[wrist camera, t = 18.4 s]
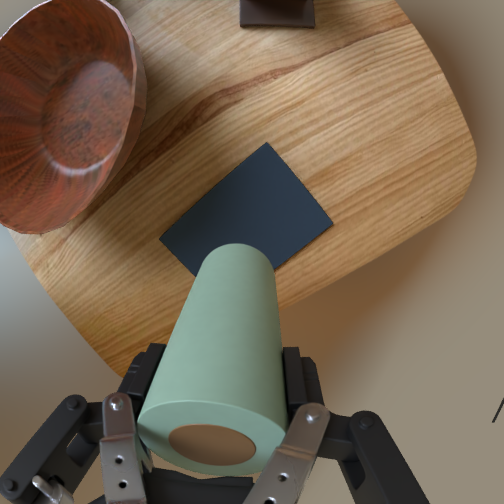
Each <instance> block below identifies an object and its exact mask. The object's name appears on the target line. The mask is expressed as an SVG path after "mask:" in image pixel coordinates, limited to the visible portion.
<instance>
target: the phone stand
mask: <svg viewBox="0 0 504 504" xmlns="http://www.w3.org/2000/svg"><path fill="white" fill-rule="evenodd" d="M245 26H281V27H302V28H314V27H315V19H314V7H313V0H240V27H245Z"/></svg>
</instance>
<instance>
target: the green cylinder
mask: <svg viewBox="0 0 504 504" xmlns="http://www.w3.org/2000/svg"><path fill="white" fill-rule="evenodd" d="M137 428H138V434H139V436H140V438H141V440H142V441H143V443H144V444H145V445H146V446H147V447H148V448H149V449H150V450H151V451H152V452H154V453H155V454H156V455H157V456H159V457H161V458H162V459H164V460H166V461H167V462H169V463H172V464H174V465H176V466H178V467H181V468H184V469H186V470H190V471H193V472H198V473H202V474H208V475H216V476H241V475H248V474H254V473H258V472H261V471H263V469H264V467H265V465H266V464H267V462H268V460H269V458H270V456H271V454H272V453H273V451H274V449H275V448H276V447H277V446H279V445H280V444H281V442H282V440H283V438H284V436H285V434H286V432H287V430H288V428H289V422H288V411H287V399H286V387H285V375H284V364H283V353H282V342H281V332H280V321H279V311H278V302H277V292H276V282H275V274H274V270H273V267H272V265H271V263H270V261H269V260H268V258H267V257H266V256H265V255H264V254H263V253H262V252H260V251H259V250H257V249H256V248H254V247H251V246H248V245H245V244H227V245H223V246H221V247H218V248H216V249H215V250H213V251H212V252H211V253H210V254H209V255H208V256H207V257H206V258H205V260H204V261H203V263H202V265H201V268H200V270H199V272H198V274H197V277H196V279H195V281H194V283H193V286H192V288H191V290H190V293H189V295H188V297H187V299H186V302H185V304H184V306H183V309H182V311H181V313H180V316H179V318H178V320H177V323H176V325H175V327H174V330H173V332H172V335H171V337H170V339H169V342H168V344H167V347H166V349H165V352H164V354H163V356H162V359H161V361H160V364H159V366H158V369H157V371H156V374H155V376H154V379H153V381H152V384H151V386H150V389H149V392H148V394H147V397H146V399H145V402H144V405H143V407H142V410H141V412H140V415H139V418H138V421H137Z"/></svg>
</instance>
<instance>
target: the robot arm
mask: <svg viewBox="0 0 504 504" xmlns="http://www.w3.org/2000/svg"><path fill="white" fill-rule="evenodd" d="M166 347H167V345H166V344H160V343H150V345H149V347H148V349H147V351H146V352H140V353H139V354H138V355H137V356H136V357H134V359H133V361H132V363H131V365H130V367H129V369H128V372H127V373H126V375H125V377H124V379H123V381H122V383H121V385H120V387H119V389H118V391H117V392H116V393H112V394H110V395H108V396H107V397H106V398H105V399H104V400H103V402H93V403H92V402H91V403H87V401H86V399H85V398H84V397H82V396H81V395H70V396H68V397H67V398H65V399H64V400H63V401H62V402H61V404H60V405H59V406H58V407H57V408H56V409H55V411H54V412H53V413H52V414H51V415H50V416H49V418H48V419H47V420H46V421H45V422H44V424H43V425H42V426H41V427H40V429H39V430H38V431H37V432H36V433H35V434H34V436H33V437H32V438H31V439H30V441H29V442H28V443H27V444H26V445H25V447H24V448H23V449H22V450H21V452H20V453H19V454H18V455H17V457H16V458H15V459H14V461H13V462H12V463H11V464H10V466H9V467H8V468H7V469H6V471H5V472H4V473H3V475H2V476H1V477H0V493H1V494H2V495H3V496H4V497H5V498H6V499H7V500H9V501H10V502H11V503H13V504H74V499H73V496H72V495H73V493H74V491H75V490H76V488H77V487H78V485H79V484H80V482H81V481H82V479H83V478H84V476H85V474H86V473H87V471H88V469H89V468H90V467H91V465H92V463H93V462H94V461H95V459H96V457H97V456H98V455H99V453H100V458H101V468H102V477H103V485H104V492H105V494H104V495H102V496H101V497H99V498H97V499H95V500H94V501H92V502H90V503H88V504H297V503H298V501H299V498H300V496H301V494H302V492H303V490H304V487H305V485H306V482H307V480H308V478H309V475H310V473H311V471H312V468H313V466H314V464H315V461H316V458H317V457H323V458H328V459H335V460H337V461H338V463H339V466H340V468H341V471H342V473H343V475H344V478H345V480H346V483H347V485H348V487H349V490H350V492H351V494H352V497H353V499H354V502H355V504H430V503H429V501H428V499H427V498H426V496H425V494H424V492H423V491H422V489H421V487H420V485H419V483H418V482H417V480H416V478H415V477H414V475H413V473H412V471H411V470H410V468H409V466H408V464H407V463H406V461H405V459H404V458H403V456H402V454H401V452H400V451H399V449H398V447H397V446H396V444H395V442H394V441H393V439H392V437H391V435H390V434H389V432H388V430H387V429H386V427H385V425H384V424H383V422H382V420H381V419H380V417H379V416H378V415H377V414H375V413H374V412H371V411H359V412H356V413H355V414H353V415H352V416H351V417H346V416H340V415H336V414H334V413H332V412H330V411H329V410H328V409H327V408H326V407H325V405H324V402H323V397H322V392H321V387H320V382H319V378H318V374H317V369H316V364H315V363H314V362H313V360H312V359H311V358H310V357H300V352H299V348H298V347H283V364H284V375H285V387H286V399H287V411H288V422H289V428H288V430H287V432H286V434H285V436H284V438H283V440H282V442H281V444H280V445H279V446H277V447H276V448H275V449H274V451H273V453H272V454H271V456H270V458H269V460H268V462H267V464H266V465H265V467H264V469H263V471H262V473H261V474H260V476H259V478H258V479H257V481H256V483H253V478H252V477H233V476H225V477H218V478H210V479H197V478H194V477H191V476H188V475H185V474H183V473H180V472H177V471H173V470H166V469H161V468H155V467H154V464H153V460H152V456H151V451H150V449H149V448H148V447H147V446H146V445H145V444H144V443H143V441H142V440H141V438H140V436H139V434H138V428H137V421H138V418H139V415H140V412H141V410H142V407H143V405H144V402H145V399H146V397H147V394H148V392H149V389H150V386H151V384H152V381H153V379H154V376H155V374H156V371H157V369H158V366H159V364H160V361H161V359H162V356H163V354H164V352H165V349H166ZM503 404H504V398H503V400H502V402H501V405H500V407H499V409H498V411H497V413H496V415H495V417H494V419H493V421H492V422H495V420H496V418H497V416H498V414H499V412H500V410H501V408H502V406H503ZM76 433H77V435H76ZM75 435H76V437H75V438H74V439H73V437H74V436H75ZM72 439H73V440H72ZM71 440H72V442H71V443H70V441H71ZM69 443H70V445H69V446H68V444H69ZM67 446H68V447H67Z"/></svg>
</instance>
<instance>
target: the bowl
mask: <svg viewBox="0 0 504 504" xmlns="http://www.w3.org/2000/svg"><path fill="white" fill-rule="evenodd" d="M146 100H147V80H146V75H145V69H144V64H143V58H142V54H141V51H140V49H139V46H138V44H137V42H136V40H135V39H134V37H133V35H132V33H131V31H130V29H129V28H128V26H127V24H126V22H125V20H124V18H123V17H122V15H121V13H120V12H119V10H117V9H116V8H115V7H113V6H112V5H111V4H109V3H108V2H107V1H105V0H47V1H45V2H43V3H41V4H39V5H37V6H35V7H33V8H32V9H31V10H29V11H28V12H27V13H25V14H24V15H23V16H22V17H20V18H19V19H18V20H17V21H15V22H14V23H13V24H12V25H11V26H10V28H9V29H8V30H7V31H6V32H5V33H4V34H3V36H2V37H1V38H0V223H1V224H2V225H3V226H5V227H7V228H10V229H12V230H14V231H16V232H19V233H21V234H44V233H47V232H49V231H52V230H55V229H58V228H60V227H63V226H64V225H66V224H67V223H68V222H69V221H71V220H72V219H73V218H74V217H75V216H77V215H78V214H79V213H80V212H82V211H83V210H84V209H86V208H87V207H88V206H89V205H90V204H91V203H92V202H93V201H94V200H95V199H96V198H97V197H98V196H99V195H100V194H101V193H102V192H103V191H104V190H105V188H106V187H107V186H108V185H109V183H110V182H111V181H112V180H113V178H114V177H115V176H116V175H117V173H118V172H119V171H120V170H121V168H122V167H123V166H124V165H125V163H126V161H127V159H128V157H129V155H130V153H131V151H132V149H133V147H134V145H135V144H136V142H137V140H138V138H139V134H140V131H141V127H142V123H143V120H144V117H145V113H146Z"/></svg>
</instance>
